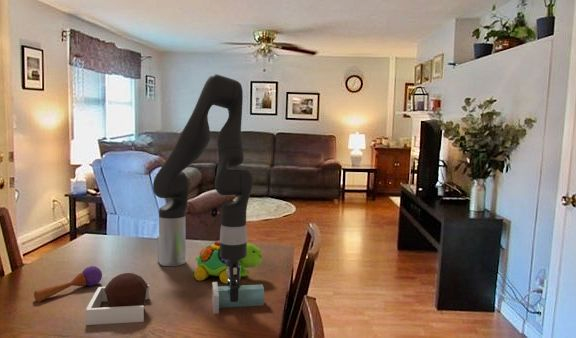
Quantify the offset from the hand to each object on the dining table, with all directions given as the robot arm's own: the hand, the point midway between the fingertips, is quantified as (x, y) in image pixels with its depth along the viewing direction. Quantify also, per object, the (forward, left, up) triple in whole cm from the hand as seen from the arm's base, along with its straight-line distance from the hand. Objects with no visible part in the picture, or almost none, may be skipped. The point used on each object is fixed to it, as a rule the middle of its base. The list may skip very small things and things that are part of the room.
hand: (232, 295), depth 134 cm
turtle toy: (-17, +18, -3) cm, 25 cm away
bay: (-22, -22, -3) cm, 31 cm away
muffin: (-20, -21, -3) cm, 29 cm away
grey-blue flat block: (0, 0, -3) cm, 3 cm away
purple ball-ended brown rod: (-45, -22, -3) cm, 50 cm away
